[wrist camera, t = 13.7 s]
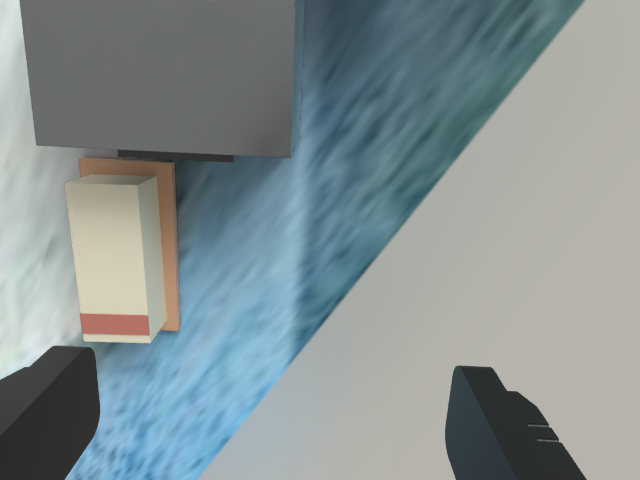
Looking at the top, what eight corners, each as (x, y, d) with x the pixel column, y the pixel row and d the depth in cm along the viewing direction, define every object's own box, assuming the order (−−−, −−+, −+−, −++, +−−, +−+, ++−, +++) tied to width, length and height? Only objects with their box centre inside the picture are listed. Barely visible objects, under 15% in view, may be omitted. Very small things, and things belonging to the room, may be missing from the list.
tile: (83, 157, 37) (78, 158, 37) (174, 161, 37) (171, 163, 37) (98, 322, 41) (94, 327, 41) (180, 326, 41) (177, 331, 41)
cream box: (91, 174, 37) (63, 183, 33) (156, 176, 37) (136, 185, 33) (107, 318, 40) (83, 341, 36) (167, 319, 40) (150, 343, 36)
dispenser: (100, -46, 33) (7, -104, 24) (305, -35, 34) (298, -89, 24) (113, 141, 37) (38, 157, 27) (299, 150, 37) (290, 170, 27)
